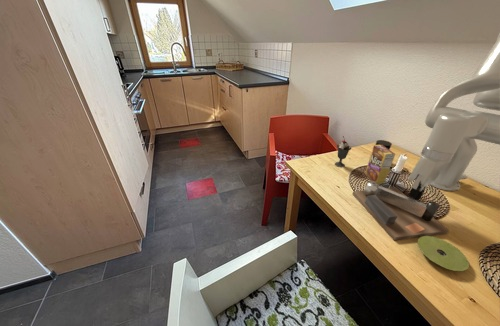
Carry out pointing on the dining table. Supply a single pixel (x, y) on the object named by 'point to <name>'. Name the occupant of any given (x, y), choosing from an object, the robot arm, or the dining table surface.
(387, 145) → the supplement container
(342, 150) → the sundae
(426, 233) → the nutcracker bench
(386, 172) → the candy box
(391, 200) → the lever
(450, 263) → the green disc
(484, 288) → the dining table surface
